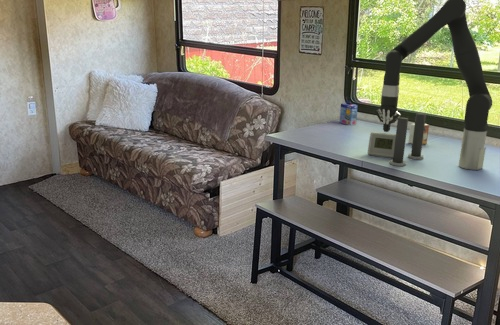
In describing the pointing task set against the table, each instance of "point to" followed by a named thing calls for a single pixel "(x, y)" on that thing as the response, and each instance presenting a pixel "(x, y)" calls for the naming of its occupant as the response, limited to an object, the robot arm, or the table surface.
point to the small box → (423, 134)
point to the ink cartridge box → (348, 113)
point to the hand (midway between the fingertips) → (386, 131)
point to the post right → (418, 137)
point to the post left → (400, 142)
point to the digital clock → (381, 144)
